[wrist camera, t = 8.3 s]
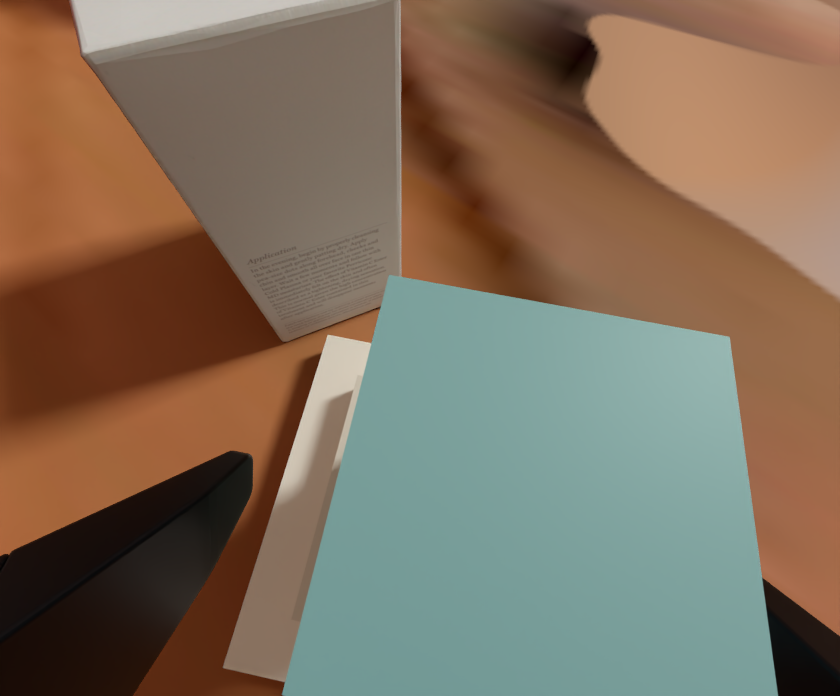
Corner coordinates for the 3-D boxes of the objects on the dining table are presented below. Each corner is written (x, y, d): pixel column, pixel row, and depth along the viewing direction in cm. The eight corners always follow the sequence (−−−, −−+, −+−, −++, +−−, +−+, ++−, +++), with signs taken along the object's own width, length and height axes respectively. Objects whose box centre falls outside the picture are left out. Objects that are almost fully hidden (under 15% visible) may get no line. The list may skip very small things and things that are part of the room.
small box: (236, 221, 21) (27, -152, 9) (347, 187, 23) (288, -180, 11) (281, 348, 19) (69, 51, 7) (405, 301, 20) (411, -18, 8)
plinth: (576, 729, 14) (620, 782, 11) (239, 653, 14) (201, 686, 11) (586, 398, 18) (619, 377, 16) (333, 348, 19) (321, 319, 16)
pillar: (484, 579, 14) (793, 805, 3) (374, 556, 14) (282, 695, 3) (497, 464, 16) (730, 336, 5) (397, 444, 16) (389, 275, 5)
